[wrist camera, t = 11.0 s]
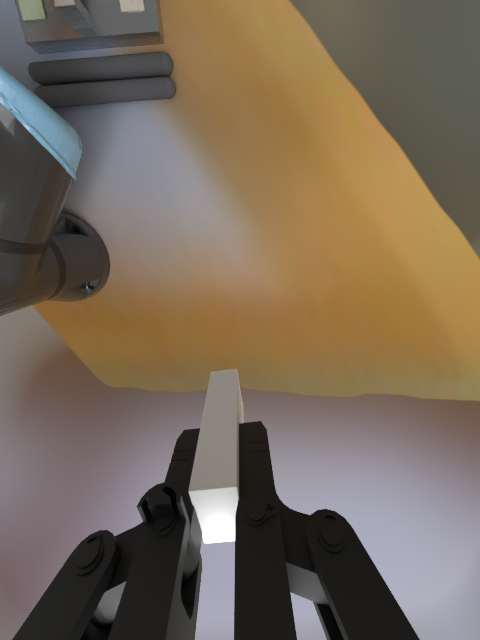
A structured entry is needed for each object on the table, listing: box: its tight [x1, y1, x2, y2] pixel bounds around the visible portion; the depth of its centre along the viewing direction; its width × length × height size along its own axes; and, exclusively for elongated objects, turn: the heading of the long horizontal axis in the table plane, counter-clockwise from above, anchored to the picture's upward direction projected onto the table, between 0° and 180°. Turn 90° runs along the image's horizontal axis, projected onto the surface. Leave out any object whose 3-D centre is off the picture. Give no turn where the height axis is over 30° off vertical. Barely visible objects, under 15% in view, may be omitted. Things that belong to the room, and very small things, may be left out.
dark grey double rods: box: [28, 52, 175, 107], centre depth 33 cm, size 20×5×2 cm, turn 93°
